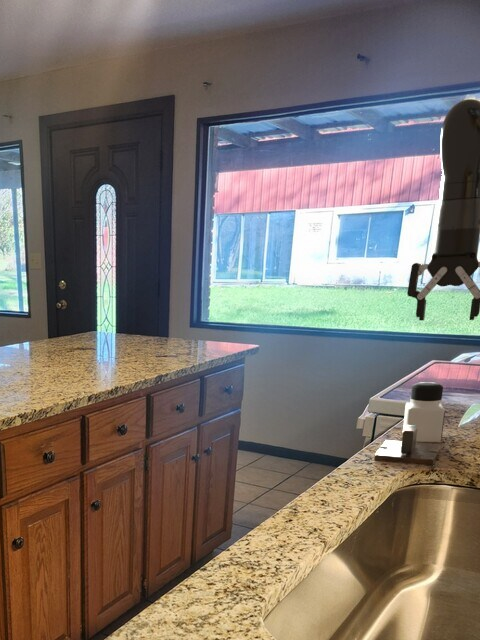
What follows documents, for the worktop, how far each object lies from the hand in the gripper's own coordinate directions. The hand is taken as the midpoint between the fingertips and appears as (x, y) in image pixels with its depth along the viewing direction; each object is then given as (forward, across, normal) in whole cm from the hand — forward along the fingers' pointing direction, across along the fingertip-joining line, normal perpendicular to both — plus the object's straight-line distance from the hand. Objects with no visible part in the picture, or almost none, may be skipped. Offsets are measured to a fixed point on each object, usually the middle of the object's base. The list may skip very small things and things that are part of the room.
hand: (446, 319), depth 129 cm
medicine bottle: (+26, +3, -12) cm, 29 cm away
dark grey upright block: (+23, +3, +10) cm, 25 cm away
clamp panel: (+26, +3, +10) cm, 28 cm away
